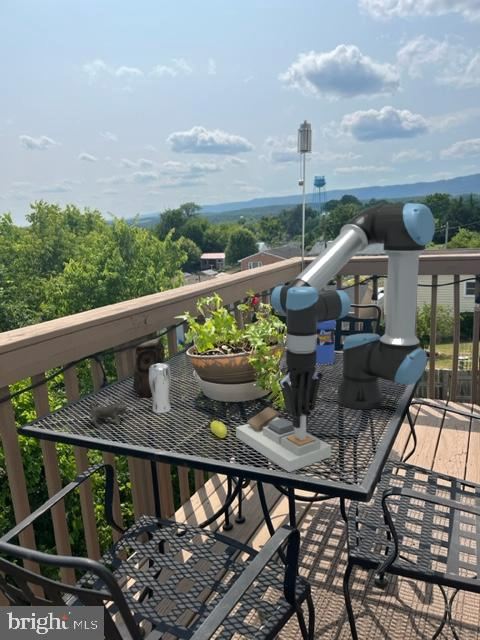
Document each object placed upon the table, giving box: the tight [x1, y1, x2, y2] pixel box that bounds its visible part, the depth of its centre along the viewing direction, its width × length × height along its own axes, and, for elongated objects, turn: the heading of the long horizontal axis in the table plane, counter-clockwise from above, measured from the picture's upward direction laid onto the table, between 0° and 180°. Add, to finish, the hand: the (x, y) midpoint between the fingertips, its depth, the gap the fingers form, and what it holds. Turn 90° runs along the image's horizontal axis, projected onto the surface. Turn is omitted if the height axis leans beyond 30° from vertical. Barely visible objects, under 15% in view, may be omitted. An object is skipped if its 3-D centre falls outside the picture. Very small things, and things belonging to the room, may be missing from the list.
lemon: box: [210, 420, 228, 439], centre depth 138 cm, size 4×8×4 cm, turn 21°
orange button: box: [287, 435, 314, 446], centre depth 123 cm, size 5×5×2 cm
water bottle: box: [315, 320, 336, 364], centre depth 203 cm, size 9×9×25 cm
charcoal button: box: [268, 417, 294, 435], centre depth 129 cm, size 5×5×2 cm
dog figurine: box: [88, 402, 130, 429], centre depth 147 cm, size 12×6×7 cm, turn 110°
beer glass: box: [149, 362, 172, 414], centre depth 156 cm, size 7×7×15 cm
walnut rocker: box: [247, 406, 280, 430], centre depth 136 cm, size 8×5×1 cm, turn 123°
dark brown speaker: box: [132, 336, 166, 399], centre depth 170 cm, size 13×13×20 cm
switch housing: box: [235, 416, 332, 473], centre depth 130 cm, size 14×24×5 cm, turn 33°
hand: (300, 437), depth 123 cm, fingers closed
